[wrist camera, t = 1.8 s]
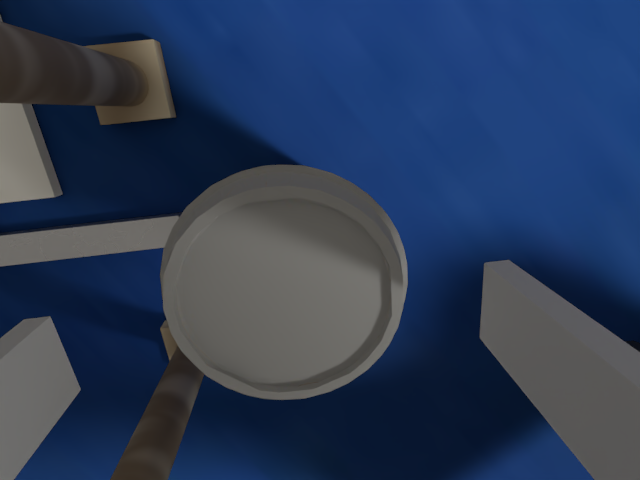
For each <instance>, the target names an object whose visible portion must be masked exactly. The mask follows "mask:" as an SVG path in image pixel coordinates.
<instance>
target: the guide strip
mask: <svg viewBox="0 0 640 480" xmlns="http://www.w3.org/2000/svg"><path fill="white" fill-rule="evenodd" d="M181 214H182V212H180V213H171V214H162V215H154V216H145V217H136V218H127V219H118V220H109V221H101V222H92V223H83V224H74V225H65V226H56V227H48V228H39V229H30V230H21V231H12V232H4V233H0V266H9V265H17V264H26V263H35V262H43V261H52V260H61V259H69V258H78V257H87V256H95V255H104V254H112V253H121V252H130V251H138V250H147V249H156V248H164V247H165V244H166V242H167V239H168V237H169V235H170V232H171V230H172V227H173V226H174V224H175V223H176V222H177V220H178V219H179V217H180V216H181Z"/></svg>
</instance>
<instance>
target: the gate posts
mask: <svg viewBox="0 0 640 480" xmlns="http://www.w3.org/2000/svg"><path fill="white" fill-rule="evenodd" d="M0 103H18V104H54V105H90V106H95V108H96V111H97V114H98V118H99V121H100V125H109V124H118V123H128V122H137V121H146V120H156V119H165V118H175V117H176V113H175V109H174V104H173V100H172V95H171V91H170V86H169V82H168V77H167V73H166V68H165V64H164V59H163V55H162V50H161V46H160V42H158V41H156V40H154V39H150V40H140V41H130V42H120V43H110V44H101V45H91V46H80V45H76V44H73V43H70V42H66V41H63V40H60V39H56V38H53V37H50V36H47V35H43V34H40V33H37V32H33V31H30V30H27V29H24V28H20V27H17V26H14V25H10V24H7V23H4V22H1V21H0ZM160 330H161V333H162V337H163V340H164V343H165V347H166V350H167V354H168V357H169V361H170V362H169V364H168V366H167V368H166V370H165V372H164V374H163V376H162V378H161V380H160V381H159V383H158V385H157V387H156V389H155V391H154V393H153V395H152V397H151V399H150V401H149V403H148V405H147V407H146V409H145V411H144V413H143V415H142V417H141V419H140V421H139V423H138V425H137V427H136V429H135V431H134V433H133V435H132V437H131V439H130V441H129V443H128V445H127V447H126V449H125V451H124V453H123V455H122V457H121V459H120V461H119V463H118V465H117V467H116V469H115V471H114V473H113V475H112V477H111V479H110V480H168V477H169V474H170V471H171V468H172V466H173V463H174V460H175V457H176V454H177V451H178V448H179V445H180V443H181V440H182V437H183V434H184V431H185V428H186V425H187V422H188V420H189V417H190V414H191V411H192V408H193V405H194V402H195V399H196V397H197V394H198V391H199V388H200V385H201V382H202V379H203V376H204V373H203V372H202V371H200V370H199V369H198V368H197V367H196V366H195V365H194V364H193V363H192V362H191V361H190V360H189V359H188V358H187V357H186V356H185V354H184V353H183V352H182V351H181V350H180V348H179V346H178V345H177V343H176V341H175V339H174V338H173V336H172V334H171V332H170V329H169V326H168V323H167V321H164V323H163V325H162V326H161V328H160Z"/></svg>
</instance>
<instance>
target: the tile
mask: <svg viewBox="0 0 640 480" xmlns="http://www.w3.org/2000/svg"><path fill="white" fill-rule="evenodd" d="M0 21H1V22H3V21H2V18H1V15H0ZM60 195H63V193H62V190H61V187H60V184H59V182H58V179H57V176H56V173H55V170H54V167H53V164H52V161H51V159H50V156H49V153H48V150H47V147H46V144H45V141H44V138H43V136H42V133H41V130H40V127H39V124H38V121H37V118H36V115H35V113H34V110H33V107H32V104H18V103H0V203H7V202H16V201H25V200H34V199H43V198H52V197H57V196H60Z"/></svg>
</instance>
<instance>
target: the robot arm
mask: <svg viewBox="0 0 640 480" xmlns="http://www.w3.org/2000/svg"><path fill="white" fill-rule="evenodd" d="M480 339H481V340H482V342H483V343H484V344H485V345H486V347H487V348H488V349H489V350H490V351H491V353H492V354H493V355H494V356H495V358H496V359H497V360H498V361H499V363H500V364H501V365H502V366H503V367H504V369H505V370H506V371H507V372H508V374H509V375H510V376H511V377H512V379H513V380H514V381H515V382H516V383H517V385H518V386H519V387H520V388H521V390H522V391H523V392H524V393H525V395H526V396H527V397H528V398H529V399H530V401H531V402H532V403H533V404H534V406H535V407H536V408H537V409H538V411H539V412H540V413H541V414H542V415H543V417H544V418H545V419H546V420H547V422H548V423H549V424H550V425H551V427H552V428H553V429H554V430H555V432H556V433H557V434H558V435H559V436H560V438H561V439H562V440H563V441H564V443H565V444H566V445H567V446H568V448H569V449H570V450H571V451H572V452H573V454H574V455H575V456H576V457H577V459H578V460H579V461H580V462H581V464H582V465H583V466H584V467H585V468H586V470H587V471H588V472H589V473H590V475H591V476H592V477H593V478H594V480H640V343H638V342H636V341H626V342H625V341H623V340H622V339H620V338H619V337H617V336H616V335H615V334H613V333H612V332H610V331H609V330H608V329H606V328H605V327H603V326H602V325H600V324H599V323H598V322H596V321H595V320H593V319H592V318H590V317H589V316H588V315H586V314H585V313H583V312H582V311H581V310H579V309H578V308H576V307H575V306H573V305H572V304H571V303H569V302H568V301H566V300H565V299H564V298H562V297H561V296H559V295H558V294H556V293H555V292H554V291H552V290H551V289H549V288H548V287H546V286H545V285H544V284H542V283H541V282H539V281H538V280H537V279H535V278H534V277H532V276H531V275H529V274H528V273H527V272H525V271H524V270H522V269H521V268H520V267H518V266H517V265H515V264H514V263H512V262H511V261H510V260H503V261H495V262H487V263H484V275H483V291H482V307H481V322H480ZM80 390H81V388H80V386H79V384H78V381H77V379H76V376H75V374H74V372H73V369H72V367H71V364H70V362H69V360H68V357H67V355H66V352H65V350H64V348H63V345H62V343H61V341H60V338H59V336H58V333H57V331H56V329H55V326H54V324H53V321H52V319H51V317H50V316H48V317H40V318H32V319H24V320H23V321H21V322H20V323H19V324H18V325H16V326H15V327H14V328H13V329H11V330H10V331H9V332H7V333H6V334H5V335H4V336H2V337H1V338H0V480H14V479H15V477H16V476H17V475H18V473H19V472H20V471H21V469H22V468H23V467H24V465H25V464H26V463H27V461H28V460H29V459H30V457H31V456H32V455H33V453H34V452H35V451H36V449H37V448H38V447H39V445H40V444H41V443H42V441H43V440H44V439H45V437H46V436H47V435H48V433H49V432H50V431H51V429H52V428H53V427H54V425H55V424H56V423H57V421H58V420H59V419H60V417H61V416H62V414H63V413H64V412H65V410H66V409H67V408H68V406H69V405H70V404H71V402H72V401H73V400H74V398H75V397H76V396H77V394H78V393H79V392H80Z"/></svg>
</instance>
